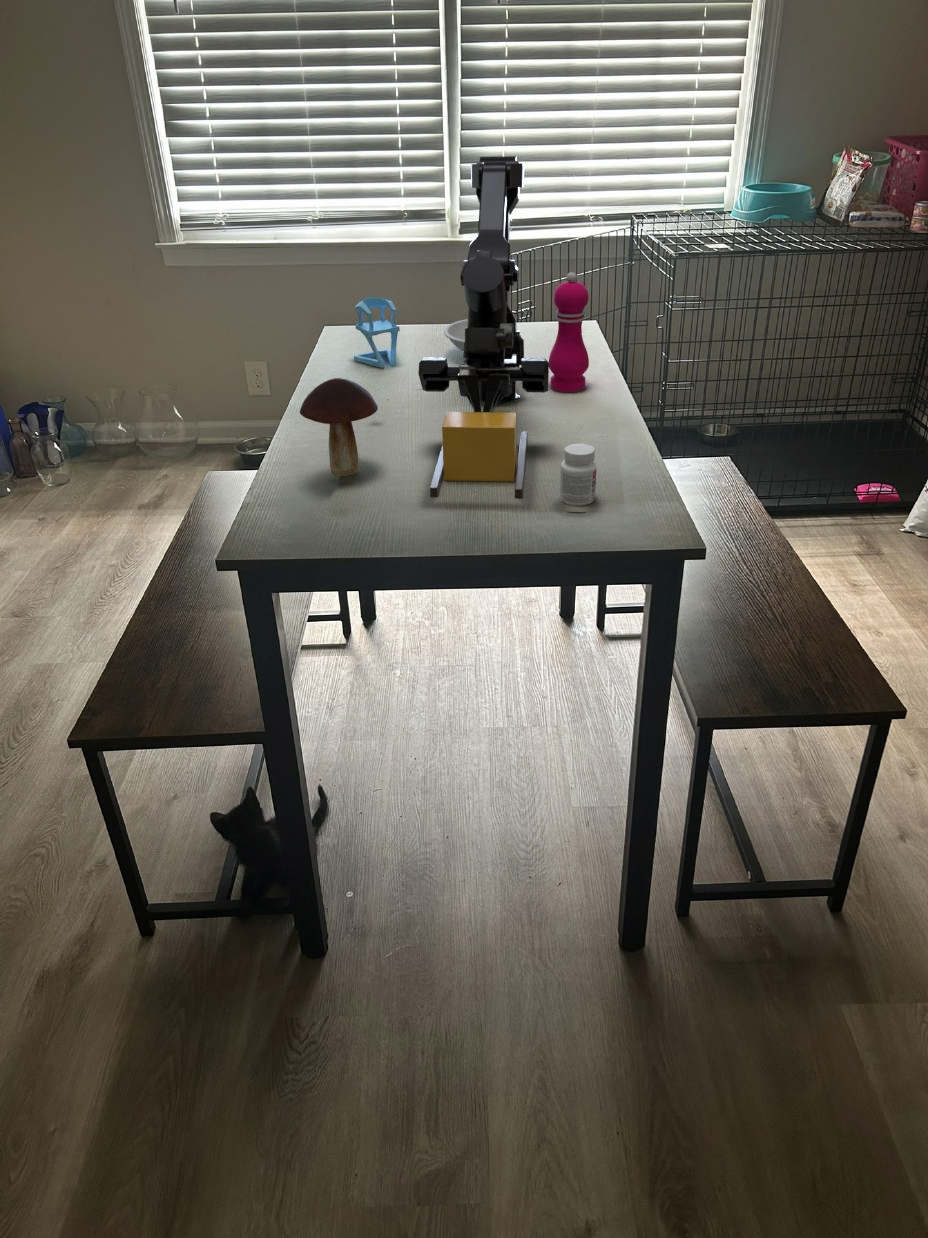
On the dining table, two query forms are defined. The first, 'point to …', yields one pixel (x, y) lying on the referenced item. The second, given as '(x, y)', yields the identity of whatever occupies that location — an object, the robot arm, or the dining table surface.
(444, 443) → the ochre block
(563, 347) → the pepper mill
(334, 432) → the decorative mushroom
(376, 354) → the chair
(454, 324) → the dish
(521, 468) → the maple track
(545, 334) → the dining table surface
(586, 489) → the pill bottle
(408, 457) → the dining table surface
